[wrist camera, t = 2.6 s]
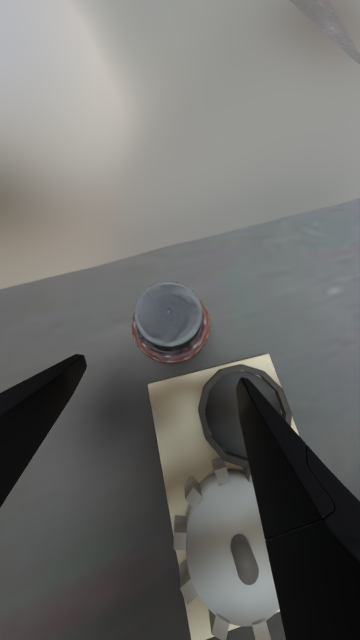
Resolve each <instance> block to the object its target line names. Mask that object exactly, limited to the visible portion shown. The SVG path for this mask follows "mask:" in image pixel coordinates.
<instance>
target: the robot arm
mask: <svg viewBox="0 0 360 640" xmlns="http://www.w3.org/2000/svg"><path fill="white" fill-rule="evenodd" d="M86 367H87V364H86V361H85V357H84V355H80V354H75V355H73V356H71V357H69V358H67V359H65V360H63V361H61V362H59V363H58V364H56V365H54V366H52V367H50V368H48V369H46V370H44V371H42V372H40V373H38V374H36V375H34V376H32V377H30V378H29V379H27V380H25V381H23V382H21V383H19V384H17V385H15V386H13V387H11V388H9V389H7V390H5V391H3V392H1V393H0V507H1V506H2V504H3V503H4V501H5V499H6V498H7V496H8V495H9V493H10V491H11V490H12V488H13V487H14V485H15V484H16V482H17V481H18V479H19V477H20V476H21V474H22V473H23V471H24V470H25V468H26V467H27V465H28V463H29V462H30V460H31V459H32V457H33V456H34V454H35V453H36V451H37V449H38V448H39V446H40V445H41V443H42V442H43V440H44V439H45V437H46V435H47V434H48V432H49V431H50V429H51V428H52V426H53V425H54V423H55V421H56V420H57V418H58V417H59V415H60V414H61V412H62V411H63V409H64V408H65V406H66V404H67V403H68V401H69V400H70V398H71V397H72V395H73V393H74V391H75V389H76V388H77V386H78V384H79V382H80V380H81V378H82V376H83V374H84V372H85V370H86ZM236 395H237V405H238V414H239V421H240V426H241V430H242V435H243V440H244V444H245V449H246V454H247V458H248V463H249V468H250V472H251V477H252V482H253V486H254V491H255V496H256V500H257V505H258V510H259V514H260V519H261V524H262V528H263V533H264V538H265V543H266V548H267V552H268V557H269V562H270V567H271V571H272V576H273V581H274V585H275V590H276V595H277V599H278V604H279V609H280V613H281V618H282V623H283V627H284V632H285V637H286V640H360V501H359V500H358V499H357V498H356V497H355V496H354V495H353V494H352V493H351V492H350V491H349V490H348V489H347V488H346V487H345V486H344V485H343V484H342V483H341V482H340V481H339V480H338V478H337V477H336V476H335V475H334V474H333V473H332V472H331V471H330V470H329V469H328V468H327V467H326V466H325V465H324V463H323V462H322V461H321V460H320V459H319V458H318V457H317V456H316V455H315V453H314V452H313V451H312V450H311V449H310V448H309V447H308V445H306V444H305V442H304V441H303V440H302V439H301V438H300V436H299V435H298V434H297V433H296V432H295V431H294V430H293V428H292V427H291V426H290V425H289V424H288V423H287V422H286V420H285V419H284V418H283V417H282V416H281V415H280V414H279V412H278V411H277V410H276V409H275V408H274V407H273V406H272V404H271V403H270V402H269V401H268V400H267V399H266V398H265V396H264V395H263V394H262V393H261V392H260V391H259V390H258V388H257V387H256V386H255V385H254V384H253V383H252V382H251V380H250V379H248V378H244V377H241V378H240V379H239V381H238V384H237V386H236Z"/></svg>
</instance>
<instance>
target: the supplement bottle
mask: <svg viewBox="0 0 360 640" xmlns="http://www.w3.org/2000/svg"><path fill="white" fill-rule="evenodd" d="M131 326H132V334H133V337H134V340H135V342H136V344H137V346H138V347H139V349H140V350H141V351H142V352H143V353H144V354H145V355H147V356H148V357H150V358H151V359H153V360H155V361H158V362H161V363H168V364H173V363H181V362H184V361H186V360H188V359H190V358H192V357H193V356H195V355H196V354H197V353H198V352H199V351H200V350H201V349H202V348H203V346H204V345H205V343H206V341H207V338H208V335H209V330H210V319H209V315H208V312H207V310H206V307H205V306H204V304H203V303H202V301H201V300H200V299H199V298H198V296H197V295H196V294H195V293H194V292H193V291H192V290H191V289H190V288H189V287H187V286H185V285H183V284H181V283H177V282H161V283H158V284H154V285H152V286H151V287H149V288H148V289H147V290H145V291H144V293H143V294H142V295H141V296H140V298H139V299H138V301H137V304H136V307H135V311H134V314H133V318H132V325H131Z"/></svg>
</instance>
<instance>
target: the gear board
mask: <svg viewBox="0 0 360 640" xmlns="http://www.w3.org/2000/svg"><path fill="white" fill-rule="evenodd" d="M241 377H244V378H248V379H250V380H251V382H252V383H253V384H254V385H255V386H256V387H257V388H258V390H259V391H260V392H261V393H262V394H263V395H264V396H265V398H266V399H267V400H268V401H269V402H270V403H271V404H272V406H273V407H274V408H275V409H276V410H277V411H278V412H279V414H280V415H281V416H282V417H283V418H284V419H285V420H286V422H287V423H288V424H289V425H290V426H291V427H292V428H293V430H294V431H295V432H296V433H297V434H298V431H297V429H296V426H295V423H294V421H293V418H292V415H291V414H292V413H291V410H290V407H289V405H288V402H287V399H286V396H285V394H284V391H283V389H282V388H281V385H280V383H279V380H278V377H277V375H276V372H275V369H274V367H273V364H272V361H271V359H270V356H269V354H264V355H260V356H256V357H252V358H248V359H244V360H240V361H236V362H232V363H228V364H224V365H220V366H216V367H212V368H208V369H204V370H200V371H196V372H192V373H188V374H184V375H180V376H176V377H172V378H168V379H164V380H160V381H156V382H152V383H149V384H148V390H149V396H150V402H151V408H152V414H153V419H154V425H155V431H156V437H157V443H158V448H159V454H160V460H161V466H162V472H163V478H164V483H165V489H166V495H167V501H168V507H169V512H170V518H171V524H172V530H173V536H174V541H173V550H176V553H177V559H178V565H179V571H180V590H181V592H182V594H183V597H184V600H185V606H186V611H187V617H188V623H189V629H190V635H191V640H206V639H209V638H211V637H214V636H215V637H217V638H219V639H220V640H226V638H227V633H228V631H230V630H232V629H235V628H238V627H240V626H252V629H253V633H254V636H255V640H271V638H270V634H269V630H268V627H267V623H266V620H267V619H269V618H270V617H271V616H273V615H274V614H275V613H277V612H280V609H279V604H278V599H277V595H276V590H275V585H274V581H273V576H272V571H271V567H270V562H269V557H268V552H267V548H266V543H265V538H264V533H263V528H262V524H261V519H260V514H259V510H258V505H257V500H256V496H255V491H254V486H253V482H252V477H251V472H250V468H249V463H248V458H247V454H246V449H245V444H244V440H243V435H242V430H241V426H240V421H239V414H238V405H237V395H236V386H237V384H238V381H239V379H240V378H241ZM298 435H299V434H298Z"/></svg>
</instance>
